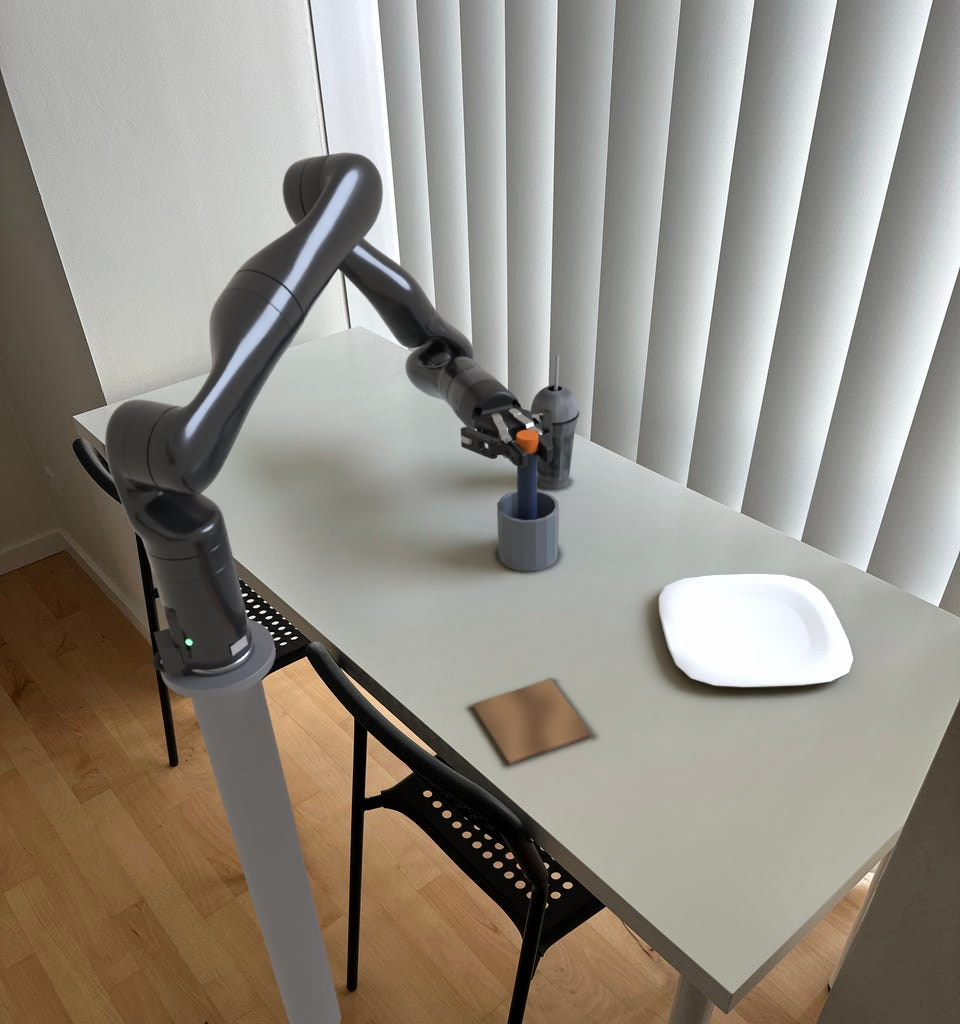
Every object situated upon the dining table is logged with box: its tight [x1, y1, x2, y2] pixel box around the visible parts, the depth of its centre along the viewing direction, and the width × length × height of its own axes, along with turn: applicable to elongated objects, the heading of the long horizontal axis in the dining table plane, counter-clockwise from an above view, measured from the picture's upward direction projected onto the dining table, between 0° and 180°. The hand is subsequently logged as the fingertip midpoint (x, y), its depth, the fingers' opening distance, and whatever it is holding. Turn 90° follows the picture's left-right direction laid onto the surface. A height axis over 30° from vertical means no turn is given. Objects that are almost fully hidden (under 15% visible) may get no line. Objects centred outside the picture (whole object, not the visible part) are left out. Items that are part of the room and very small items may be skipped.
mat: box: [472, 678, 592, 765], centre depth 111 cm, size 10×10×1 cm
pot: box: [496, 489, 560, 573], centre depth 134 cm, size 8×8×8 cm
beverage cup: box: [529, 354, 580, 490], centre depth 145 cm, size 7×7×20 cm
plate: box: [658, 573, 854, 689], centre depth 120 cm, size 22×22×2 cm
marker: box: [516, 430, 538, 520], centre depth 129 cm, size 3×3×15 cm
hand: (537, 458), depth 124 cm, fingers closed on marker, 3 cm apart
